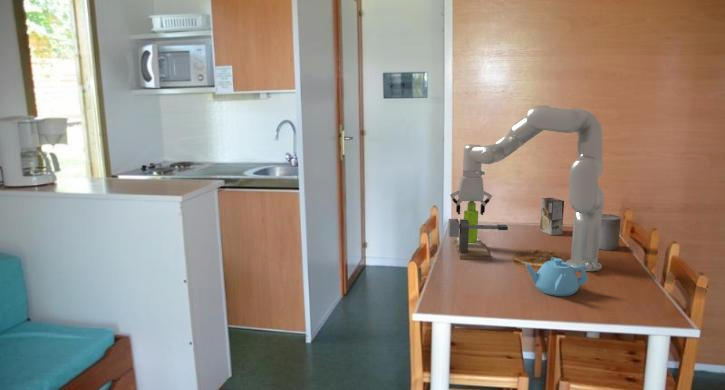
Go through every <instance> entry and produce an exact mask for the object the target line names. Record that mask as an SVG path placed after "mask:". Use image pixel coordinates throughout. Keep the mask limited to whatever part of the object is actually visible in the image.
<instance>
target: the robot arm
mask: <svg viewBox="0 0 725 390" xmlns="http://www.w3.org/2000/svg"><path fill="white" fill-rule="evenodd" d="M544 131H550V132H556V133H557V132H558V133H565V134H572V133H576V134H577V145H576V149H577V154H576V155H577V156H576V159H575V160H574V161H573V162H572V164H571V166H570V167H569V168H570V169H569V193H568V195H569V204H570V206H571V208H572V210H573V211H574V214H573V215H574V216H573V223H572V224H573V226H572V238H571V249H570V258H569V259H567V260H566V261H565V262H566V263H568V264H570V265H571V266H583V265H584V267H585V270H586V272H596V271H601V270H602V266H603V265H602V264H601V263H600V262H598V261H599V250H600V249H599V240H600V229H601V220H602V214H603V210H604V205H605V194H604V191H603V189H601V187H600V186H599V177H601V175H602V173H603V170H604V168H603V167H604V166H603V160H604V159H603V158H604V157H603V154H604V153H603V130H602V125H601V123H600V120H599V119H598V118H597V117H596V116H595V114H593V113H592V112H590V111H589V110H585V109H583V108H576V107H575V108H561V107H560V108H558V107H551V106H550V105H544V104H542V105H540V104H539V105H534V106H533V107H531V108H530V109H528V111H527V113H526V115H525V116H524V117H522V118H521V119H520V120H518V121H517V122H515V123H514V124H513V125H512V126H511V127H510V128H509V131H508V133H506V135H504V136H503V137H501V138H500V139H499V140H497V141H496V142H495V143H493V144H489V145H482V146H481V145H480V144H474V143H473V144H472V143H471V144H465V145H464V146H463V156H462V157H463V160H462V176H461V177H460V179H459V185H458V190H456V191H455V192H453V193H450V194H449V195H450V198H451V200H452V201H453V202H454V204H455V205H456V207H455V209H456V211H455V212H456V213H457V215H461V203H463V202H470V201H474V202H480V203H481V204H480V215H481V216H483V215H484V213H485V211H486V208H485V207H486V205H488V203H490V200H491V199H492V197H493V195H492V194H491V193H489V192H487V191H485V190H484V179H483V177H482V176H484V175H485V171H483V170H482V164H483V165H491V164H495V163H498V162H501V161H503V160H504V159H506V158H507V157H508V156H510V155H512V154H514V152H516V151H517V150H518V149H519V148H520V147H522V146H524V145H525V144H526V143H528V142H529V141H530V140H532V139H533V138H534V137H536V136H537V135H539V134H540V133H542V132H544ZM455 196H458V199H457V198H455ZM484 196H487V197H486V199H485V200H484Z"/></svg>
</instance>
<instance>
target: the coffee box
mask: <svg viewBox="0 0 725 390" xmlns="http://www.w3.org/2000/svg"><path fill="white" fill-rule="evenodd" d="M564 210H565V200H562V199H558V198H555V197H543V198H541V209H540V211H541V212H540V222H539V223H540V225H539V226H540V227H539V231H540V232H542V233H545V234H547V235H550V236H559V235H562V234H563V224H564V213H565V211H564Z"/></svg>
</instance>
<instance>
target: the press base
mask: <svg viewBox="0 0 725 390" xmlns="http://www.w3.org/2000/svg"><path fill="white" fill-rule="evenodd" d="M459 225H461V229H459V237H456V238H455V239H453V242H452V243H453V246H454V248H455V252H456V253H457V256H458V259H459V260H480V261H481V260H483V261H484V260H487V261H489V260H491V254H490V253H489V251H488V249H487V248H486V246H485V244H484V242H483V241H482V239H479V238H478V237H477V242H476V243H468V238H469V221H468V219H464V218H460V219H459Z"/></svg>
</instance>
